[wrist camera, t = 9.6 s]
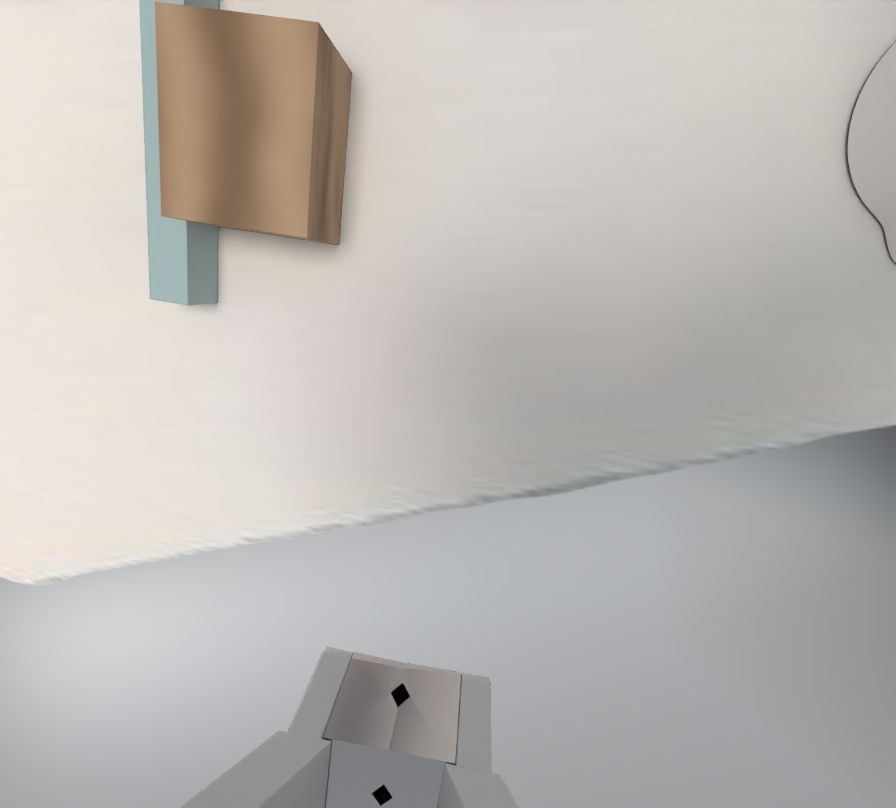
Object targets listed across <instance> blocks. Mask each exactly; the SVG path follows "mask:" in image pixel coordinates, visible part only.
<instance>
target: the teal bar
mask: <svg viewBox="0 0 896 808" xmlns="http://www.w3.org/2000/svg"><path fill="white" fill-rule="evenodd" d="M155 1H156V2H164V3H172V4H180V5H187V6H195V7H203V8H211V9H219V0H140V28H141V57H142V85H143V114H144V142H145V171H146V199H147V227H148V256H149V284H150V299H151V300H158V301H164V302H170V303H176V304H183V305H197V304H208V303H218V227H217V226H211V225H206V224H200V223H195V222H190V221H184V220H179V219H174V218H168V217H163V216H161V193H160V159H159V126H158V93H157V59H156V26H155Z"/></svg>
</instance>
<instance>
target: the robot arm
mask: <svg viewBox="0 0 896 808" xmlns="http://www.w3.org/2000/svg"><path fill="white" fill-rule="evenodd" d="M848 162H849V168H850V173H851V177H852V180H853V183H854V186H855V188H856V190H857V192H858V194H859V196H860V198H861V199H862V201H863V202H864V204H865V205H866V206H867V207H868V209H869V210H870V211H871V212H872V213H873V214H874V215H875V216H876V218H877V219H878V220H879V221H880V223H881V224H882V226H883V228H884V231H885V236H886V241H887V245H888V249H889V252H890V255H891V257H892V259H893V261H894V262H895V263H896V42H895V43H894V44H893V45H892V46H891V47H890V49H889V50H888V51H887V52H886V53H885V54H884V56H883V57H882V58H881V60H880V61H879V62H878V64H877V65H876V67H875V68H874V70H873V71H872V73H871V74H870V76H869V78H868V79H867V81H866V83H865V85H864V87H863V89H862V91H861V93H860V95H859V98H858V100H857V103H856V106H855V109H854V112H853V115H852V119H851V123H850V129H849V136H848ZM491 760H492V758H491V682H490V680H489V678H488V677H483V676H477V675H472V674H466V673H462V674H461V673H460V672H456V671H450V670H444V669H439V668H433V667H428V666H422V665H415V664H411V663H402V662H397V661H393V660H388V659H384V658H379V657H374V656H370V655H365V654H361V653H356V652H349V651H345V650H339V649H335V648H331V647H327V648H326V649H325V650H324V652H323V653H322V654H321V657H320V659H319V661H318V664H317V666H316V668H315V670H314V673H313V675H312V677H311V679H310V682H309V684H308V686H307V688H306V691H305V693H304V695H303V697H302V700H301V702H300V704H299V707H298V709H297V711H296V713H295V715H294V718H293V720H292V722H291V724H290V727H289V729H288V731H287V732H284V731H277V732H276V733H275V734H273V735H272V736H271V737H269V738H268V739H267V740H266V741H264V742H263V743H262V744H261V745H259V746H258V747H257V748H255V749H254V750H253V751H252V752H250V753H249V754H248V755H246V756H245V757H244V758H243V759H241V760H240V761H239V762H238V763H236V764H235V765H234V766H232V767H231V768H230V769H228V770H227V771H226V772H225V773H223V774H222V775H221V776H220V777H218V778H217V779H216V780H214V781H213V782H212V783H211V784H210V785H208V786H207V787H205V788H204V789H203V790H202V791H200V792H199V793H198V794H197V795H195V796H194V797H193V798H191V799H190V800H189V801H188V802H186V803H185V804H184V805H183V806H181V807H180V808H519V806H518V805H517V803H516V801H515V799H514V797H513V796H512V794H511V792H510V790H509V788H508V787H507V785H506V783H505V781H504V779H503V778H502V776H501V775H500V774H496V773H492V766H491V765H492V763H491V762H492V761H491Z"/></svg>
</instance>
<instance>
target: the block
mask: <svg viewBox="0 0 896 808" xmlns="http://www.w3.org/2000/svg"><path fill="white" fill-rule="evenodd" d="M155 26H156V59H157V93H158V126H159V159H160V193H161V216H163V217H168V218H174V219H179V220H184V221H190V222H195V223H200V224H206V225H211V226H217V227H223V228H229V229H236V230H243V231H249V232H256V233H263V234H269V235H276V236H283V237H289V238H296V239H303V240H309V241H316V242H323V243H329V244H336V245H339V241H340V228H341V214H342V201H343V187H344V174H345V160H346V146H347V133H348V119H349V106H350V92H351V79H352V72H351V70H350V69H349V67H348V66H347V64H346V63H345V61H344V60H343V58H342V57H341V55H340V54H339V52H338V51H337V49H336V48H335V46H334V45H333V43H332V42H331V40H330V39H329V37H328V36H327V34H326V33H325V31H324V30H323V28H322V27H321V25H320V24H319V22H312V21H304V20H296V19H288V18H281V17H273V16H265V15H257V14H250V13H242V12H234V11H226V10H219V9H211V8H203V7H195V6H187V5H180V4H172V3H164V2H156V1H155Z"/></svg>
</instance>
